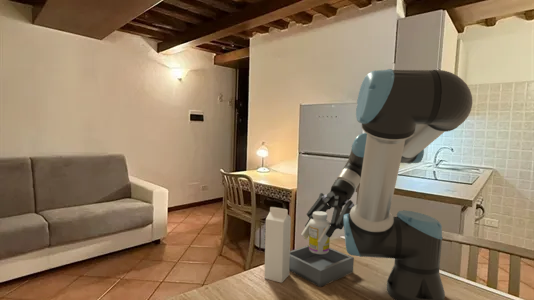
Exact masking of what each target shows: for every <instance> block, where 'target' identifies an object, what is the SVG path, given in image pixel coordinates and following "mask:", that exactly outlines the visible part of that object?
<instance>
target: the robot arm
mask: <svg viewBox="0 0 534 300" xmlns="http://www.w3.org/2000/svg"><path fill="white" fill-rule="evenodd" d="M472 95H473V94H472V92H471V89H470V87H469V85H468V84H467V83H466V82H465V81H464V80H463V78H461V77H460V76H458V75H456V74H454V73H453V72H451V71H448V70H444V69H432V70H431V69H430V70H429V69H423V70H422V69H392V68H388V69H381V70H372V71H370V72H368V73H367V74H365V76H364V78H363V80H362V82H361V85H360V88H359V91H358V95H357V101H356V111H355V115H356V116H355V118H356V121H357V122H358V123H360V124H361V129H362V131H363V133H359V134H358V135H357V136H356V137H355V139H354V140H353V142H352V144H351V150H350V154H349V157H348V160H347V162H346V163H345V165H344V167H343V168H342V169H341V171H340V173H339V174H338V175H337V177H336V179H335V181H334V182H333V184H332V186H331V187H330V191H329V192H328V193H327V194H324V193H323V192H320V193H319V196H318V198H317V199H316V201H315V202H314V203H313V204H312V206H311V207H310V209H309V210H308V211H307V213H306V216H307V217H308V220H307V222H306V223H305V225H304V226H305V227H304V229H303V230H302V232H301V233H300V235H301V237H302V238H303V239H304V240H308V239H309V224H310V221H311V220H312V219H313V212H315V211H322V212H326V213H327V211H328V210H331V209H332V208H333V211H332V212H333V213H332V216H331V219H330V220H331V221H330V225H327V226H326V228H325V230H324V231H323V233H322V235H321V236H320V238H319V240H318V243H319V244H320V245H321V246H324V244H325V243H326V241H327V239H328V238H329V237H330V238H331V237H332V236H333V234H334V232H335V231H336V230H337V229H339V231H340V230H344V231H343V232H344V233H343V234H344V242H345V243H344V244H345V249H346V252H347V255H348V254H349V256H353V257H354V256H356V257H360V258H363V257H364V258H377V259H393V260H394V264H393V266H392V268H391V271H390V273H389V275H388V278H387V281H386V292H387V293H388V295H389V296H390V297H392V298H393V299H394V300H445V299H446V292H445V289H444V285H443V281H442V278H441V275H440V266H441V254H442V243H443V241H442V240H443V226H442V223H441V222H440V221H439V220H437V219H436V218H435V217H432V216H430V215H428V214H425V213H421V212H418V211H413V210H404V209H403V210H399V211H397V214H396V216H394V214H392V212H391V207H392V203H393V198H394V193H395V189H396V185H397V180H398V175H399V170H400V165H401V164H418V163H421V162H422V160H423V157H424V155H425V149H426V148H428V146H430V145H431V144H432V143H434V141H436V140H437V139H438V138H439V137H440V136H441V135H443V134H444V133H445V132H451V131H454V130H455V129H457V128H458V127H459V126H461V125H462V124H463V123H464V122H465V121H466V120H467V119H468V117H469V115H470V114H471V111H472V108H473V96H472ZM357 188H358V192H357V193H358V195H357V201H356V204H354V202H353V201H352V200H351V199H352V197H353V195H354V193H355V191H356V190H357Z"/></svg>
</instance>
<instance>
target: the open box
mask: <svg viewBox="0 0 534 300" xmlns="http://www.w3.org/2000/svg"><path fill="white" fill-rule="evenodd" d="M354 260H355V258H354V256H352V255H350V254H349V255H348V254H347V253H344V252H341V251H339V250H337V249H334V248H331V247H329V252H328V253H326V254H314V253H312V252H311V251H310V250H309V244H308V245H305V246H302V247H299V248H296V249H293V250H290V267H289V272H291V273H293V274H295V275H297V276H299V277H301V278H302V279H303V280H305V281H308V282H309V283H312V284H314V285H315V286H317V287H319V288H321V287H323V286H325V285H328V284H330V283H332V282H335V281H337V280H339V279H341V278H344V277H346V276H348V275H350V274H352V273H354Z"/></svg>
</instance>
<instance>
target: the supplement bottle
mask: <svg viewBox="0 0 534 300" xmlns="http://www.w3.org/2000/svg"><path fill="white" fill-rule="evenodd" d="M327 218H328V213H327V211H326V212H322V211H315V212H313V219H312V220H311V221H310V224H309V236H308V245H309V250H310V251H311V252H312V253H314V254H326V253H328V252H329V248H330V238H331V237H329V238H328V239H327V241H326V243H325V244H324V246H321V245H320V244H319V243H318V240H319V238H320V236H321V235H322V233H323V231H324V230H325V228H326V226H327V225H330V224H331V222H330V221H329V220H327ZM330 226H331V225H330Z"/></svg>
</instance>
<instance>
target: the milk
mask: <svg viewBox="0 0 534 300" xmlns="http://www.w3.org/2000/svg"><path fill="white" fill-rule="evenodd" d="M288 212H289V210H288V209H287V208H282V207H276V206H270V207H269V212H268V215H267V216H266V218H265V236H264V237H265V238H264V239H265V240H264V243H265V244H264V247H265V248H264V276H263V277H264V279H265V280H270V281H274V282H278V283H281V284H282V283H283V282H284V281H285V280H286V279H287V278H288V277H289V275H290V271H289V267H290V251H291V227H292V217H291V216H290V214H288Z"/></svg>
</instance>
